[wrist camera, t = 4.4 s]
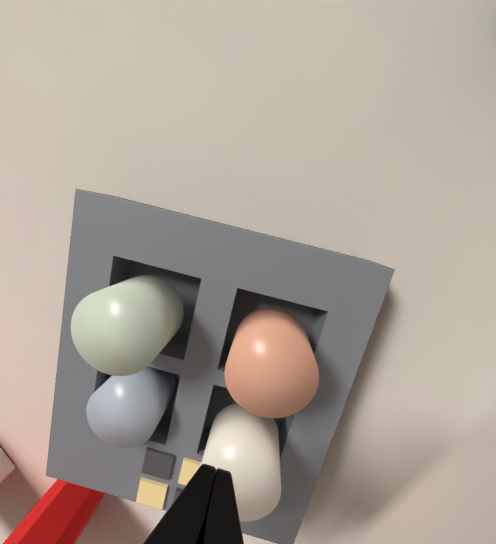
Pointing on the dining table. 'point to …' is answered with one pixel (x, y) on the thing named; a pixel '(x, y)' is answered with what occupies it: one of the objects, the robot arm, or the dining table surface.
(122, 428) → the slate button
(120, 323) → the sage button
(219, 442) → the ivory button
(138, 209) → the button board
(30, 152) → the dining table surface
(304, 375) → the terracotta button
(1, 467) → the small box
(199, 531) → the robot arm
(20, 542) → the french fries
